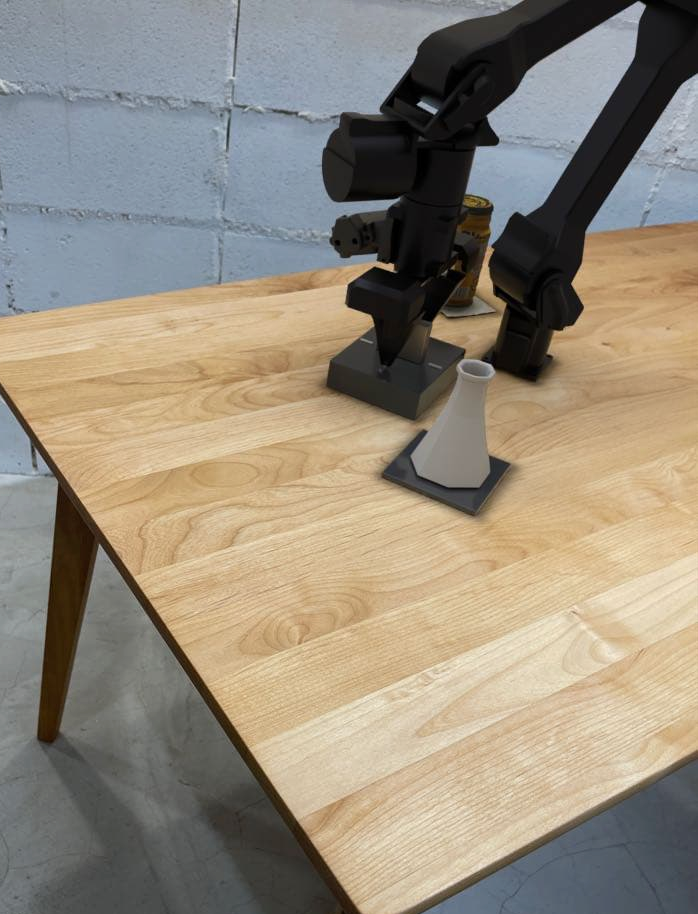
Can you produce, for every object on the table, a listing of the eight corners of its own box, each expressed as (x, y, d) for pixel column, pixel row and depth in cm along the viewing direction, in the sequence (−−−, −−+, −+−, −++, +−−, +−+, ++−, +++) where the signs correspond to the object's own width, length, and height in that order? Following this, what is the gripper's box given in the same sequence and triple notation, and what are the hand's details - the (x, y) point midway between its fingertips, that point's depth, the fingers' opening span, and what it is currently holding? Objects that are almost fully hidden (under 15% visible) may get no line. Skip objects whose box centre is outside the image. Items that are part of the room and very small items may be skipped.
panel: (377, 344, 93) (382, 318, 91) (460, 374, 90) (467, 347, 88) (325, 386, 85) (329, 358, 83) (414, 421, 82) (420, 392, 80)
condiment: (456, 283, 109) (479, 188, 101) (495, 312, 103) (522, 214, 95) (409, 289, 106) (429, 192, 98) (446, 319, 100) (470, 218, 93)
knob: (425, 359, 85) (433, 320, 83) (419, 364, 84) (428, 325, 82) (381, 343, 87) (388, 305, 84) (375, 348, 86) (382, 310, 83)
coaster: (421, 433, 80) (422, 428, 80) (510, 467, 77) (511, 463, 77) (380, 476, 74) (381, 472, 74) (474, 516, 71) (476, 511, 71)
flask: (488, 498, 73) (520, 397, 66) (406, 481, 73) (429, 380, 67) (490, 452, 78) (520, 356, 72) (413, 437, 79) (436, 340, 72)
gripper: (395, 152, 85) (370, 298, 95) (304, 197, 72) (286, 360, 82) (498, 180, 81) (461, 329, 91) (422, 233, 68) (389, 399, 78)
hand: (400, 351), depth 86 cm, fingers open, 7 cm apart
